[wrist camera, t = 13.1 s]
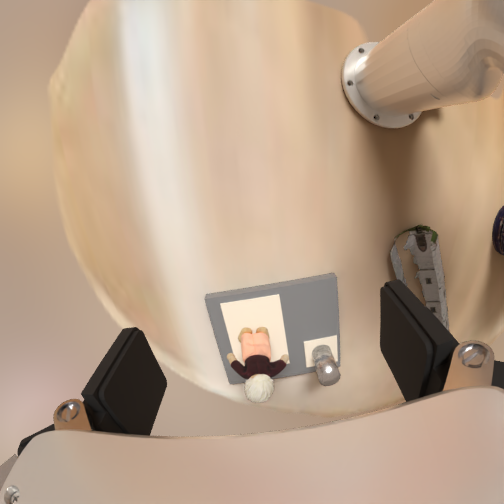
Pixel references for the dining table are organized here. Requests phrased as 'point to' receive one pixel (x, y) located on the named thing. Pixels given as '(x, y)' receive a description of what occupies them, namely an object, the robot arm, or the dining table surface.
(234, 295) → the board
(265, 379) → the grandmother figurine
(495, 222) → the storage jar
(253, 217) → the dining table surface
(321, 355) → the pin
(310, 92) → the dining table surface
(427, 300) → the model building
